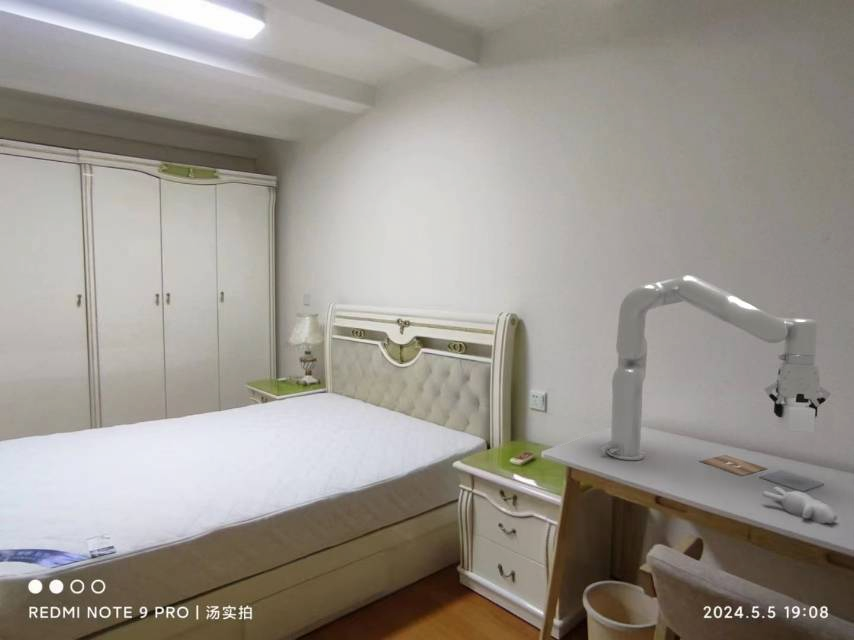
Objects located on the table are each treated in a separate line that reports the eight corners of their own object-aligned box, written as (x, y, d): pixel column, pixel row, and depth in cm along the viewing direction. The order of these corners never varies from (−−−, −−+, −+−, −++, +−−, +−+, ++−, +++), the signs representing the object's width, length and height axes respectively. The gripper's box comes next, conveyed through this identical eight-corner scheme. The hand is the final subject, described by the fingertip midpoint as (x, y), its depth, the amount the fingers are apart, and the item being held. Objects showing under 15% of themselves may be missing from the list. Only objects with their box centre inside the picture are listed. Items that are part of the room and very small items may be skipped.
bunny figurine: (827, 514, 123) (762, 485, 136) (823, 533, 124) (758, 503, 136) (844, 505, 128) (779, 478, 140) (839, 524, 129) (775, 495, 141)
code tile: (741, 476, 157) (741, 475, 157) (699, 461, 169) (699, 461, 169) (767, 468, 163) (767, 468, 163) (725, 455, 176) (725, 454, 176)
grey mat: (802, 492, 145) (802, 490, 145) (759, 477, 156) (759, 476, 156) (824, 484, 151) (824, 483, 151) (780, 471, 161) (781, 469, 161)
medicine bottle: (799, 425, 155) (802, 387, 154) (814, 432, 148) (817, 392, 147) (774, 424, 156) (777, 386, 155) (788, 431, 149) (791, 391, 148)
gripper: (769, 359, 149) (765, 417, 151) (839, 363, 144) (835, 423, 146) (761, 356, 157) (757, 411, 158) (828, 359, 151) (823, 416, 153)
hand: (794, 417), depth 152 cm, fingers closed on medicine bottle, 8 cm apart
